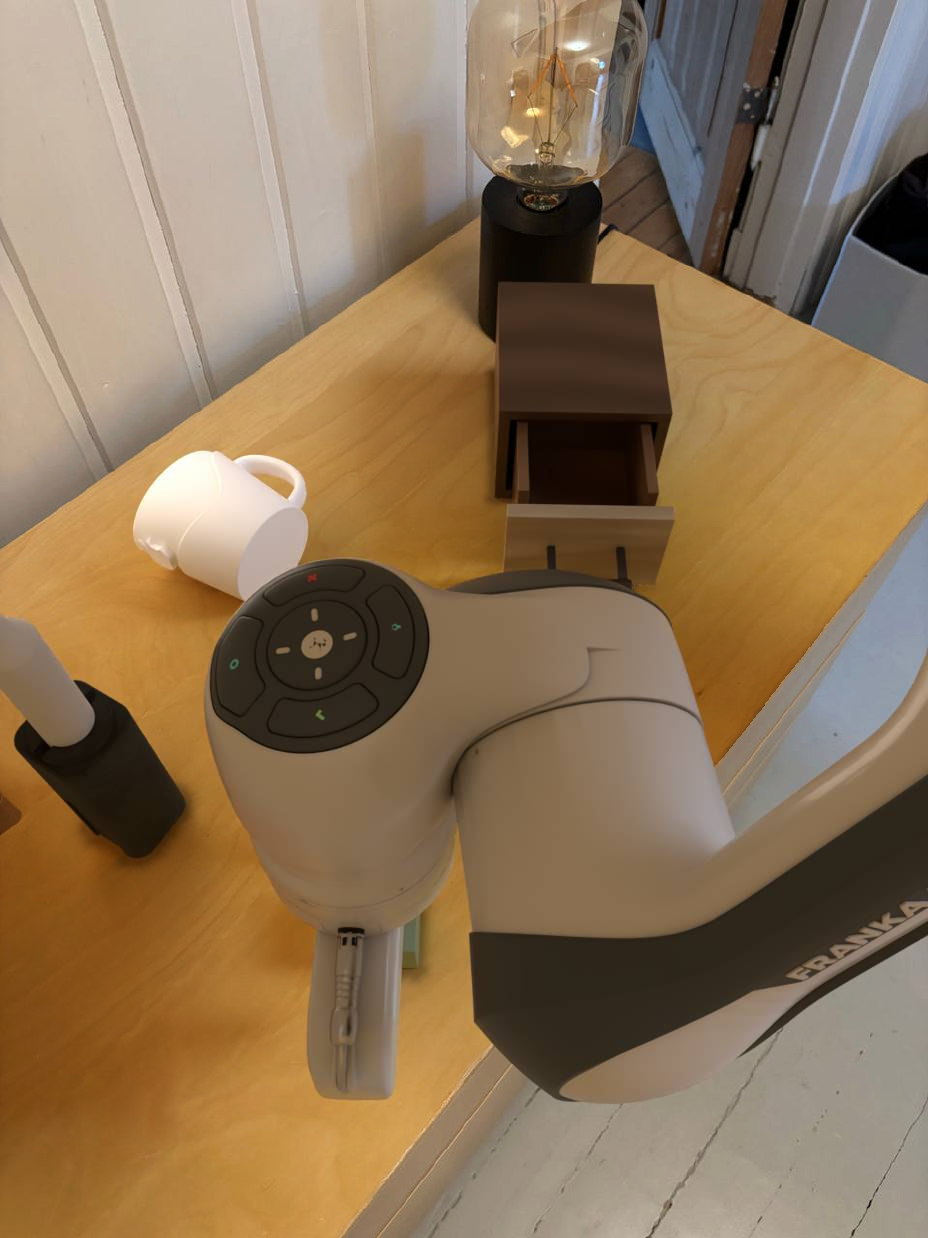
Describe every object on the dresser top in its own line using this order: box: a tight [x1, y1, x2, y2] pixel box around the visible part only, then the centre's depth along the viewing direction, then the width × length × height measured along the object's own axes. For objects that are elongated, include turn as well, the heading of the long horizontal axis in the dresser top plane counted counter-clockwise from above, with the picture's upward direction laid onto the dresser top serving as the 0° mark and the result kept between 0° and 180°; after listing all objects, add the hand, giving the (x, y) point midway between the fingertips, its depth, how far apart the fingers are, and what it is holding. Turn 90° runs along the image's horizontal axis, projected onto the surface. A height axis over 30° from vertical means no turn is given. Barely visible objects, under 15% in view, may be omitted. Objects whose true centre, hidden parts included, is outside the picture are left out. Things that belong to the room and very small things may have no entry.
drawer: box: [502, 420, 676, 590], centre depth 70 cm, size 18×12×8 cm, turn 179°
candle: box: [0, 613, 186, 859], centre depth 52 cm, size 5×5×25 cm
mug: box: [132, 450, 309, 602], centre depth 71 cm, size 12×9×8 cm
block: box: [402, 913, 422, 969], centre depth 56 cm, size 4×4×4 cm
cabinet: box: [493, 281, 674, 499], centre depth 77 cm, size 15×13×10 cm
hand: (377, 915), depth 54 cm, fingers open, 8 cm apart
